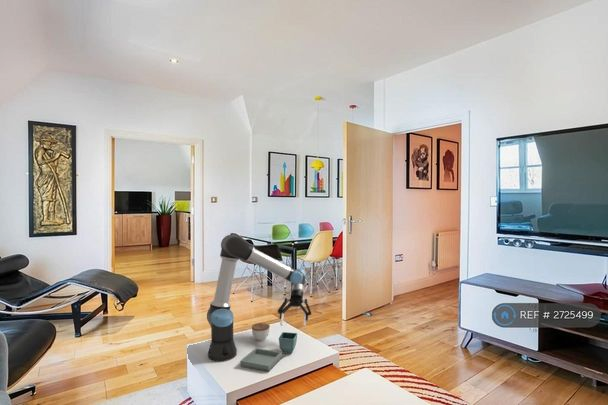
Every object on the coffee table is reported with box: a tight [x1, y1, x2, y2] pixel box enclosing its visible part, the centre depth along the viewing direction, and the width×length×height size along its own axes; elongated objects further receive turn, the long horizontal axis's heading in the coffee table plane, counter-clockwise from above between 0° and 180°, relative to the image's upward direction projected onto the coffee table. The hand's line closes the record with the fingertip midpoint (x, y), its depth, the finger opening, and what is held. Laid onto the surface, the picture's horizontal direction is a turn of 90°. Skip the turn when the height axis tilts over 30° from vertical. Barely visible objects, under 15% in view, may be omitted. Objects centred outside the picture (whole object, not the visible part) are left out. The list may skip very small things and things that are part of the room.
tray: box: [239, 347, 283, 373], centre depth 170 cm, size 16×16×3 cm
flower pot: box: [278, 331, 298, 355], centre depth 182 cm, size 9×9×9 cm
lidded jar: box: [251, 322, 270, 341], centre depth 201 cm, size 11×11×9 cm
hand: (292, 325), depth 190 cm, fingers open, 13 cm apart
